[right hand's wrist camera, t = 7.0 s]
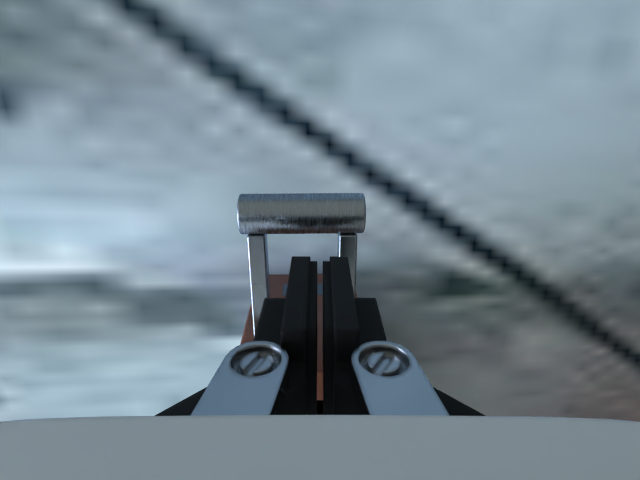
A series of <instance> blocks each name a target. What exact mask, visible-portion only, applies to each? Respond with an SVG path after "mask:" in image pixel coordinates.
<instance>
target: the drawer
mask: <svg viewBox="0 0 640 480" xmlns="http://www.w3.org/2000/svg"><path fill="white" fill-rule="evenodd" d="M237 220H238V228H239V231H240V233H241V234H248V236H247V243H248V258H249V272H250V286H251V301H252V302H251V306H250V310H249V314H248V317H247V321H246V325H245V329H244V333H243V336H242V340H241V344H244V343H247V342H252V341H253V340H254V336H255V332H256V328H257V325H258V321H259V317H260V313H261V309H262V305H263V302H264V299H265V298H286V292H287V286H288V279H289V275H269V264H268V245H267V234H310V233H338V257H348V261H349V267H350V273H351V279H352V286H353V292H354V298H357V294H356V290H355V287H356V258H357V234H356V233H363V232H364V229H365V222H366V204H365V197H364V194H363V193H310V194H240V195H239V198H238V204H237ZM241 344H240V345H241ZM317 415H323V274H317Z"/></svg>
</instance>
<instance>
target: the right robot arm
mask: <svg viewBox="0 0 640 480" xmlns="http://www.w3.org/2000/svg"><path fill="white" fill-rule="evenodd" d="M0 480H640V422H637V421H627V420H616V419H594V418H566V417H526V416H485V415H483V414H481V413H479V412H478V411H476V410H474V409H472V408H470V407H468V406H467V405H465V404H463V403H461V402H459V401H458V400H456V399H454V398H452V397H450V396H448V395H447V394H445V393H443V392H441V391H439V390H437V389H436V388H434V387H432V385H431V383H430V382H429V380H428V378H427V376H426V375H425V373H424V371H423V370H422V368H421V366H420V365H419V363H418V361H417V360H416V358H415V356H414V355H413V354H412V353H411V352H410V351H409V350H408V349H406V348H405V347H403V346H401V345H399V344H396V343H393V342H388V341H387V340H386V336H385V332H384V328H383V325H382V321H381V317H380V313H379V309H378V305H377V302H376V299H375V298H354V292H353V286H352V279H351V273H350V267H349V261H348V257H330V261H323V415H317V261H310V257H292V261H291V267H290V273H289V279H288V286H287V292H286V298H265V299H264V302H263V305H262V309H261V313H260V317H259V321H258V325H257V328H256V332H255V336H254V340H253V341H252V342H247V343H244V344H241V345H239V346H237V347H235V348H234V349H232V350H231V351H230V352H229V353H228V354H227V355H226V356H225V358H224V360H223V361H222V363H221V365H220V366H219V368H218V370H217V371H216V373H215V375H214V376H213V378H212V380H211V382H210V383H209V385H208V387H206V388H204V389H203V390H201V391H199V392H197V393H195V394H193V395H192V396H190V397H188V398H186V399H184V400H182V401H181V402H179V403H177V404H175V405H173V406H172V407H170V408H168V409H166V410H164V411H162V412H161V413H159V414H157V415H155V416H121V417H74V418H46V419H24V420H13V421H3V422H0Z"/></svg>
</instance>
